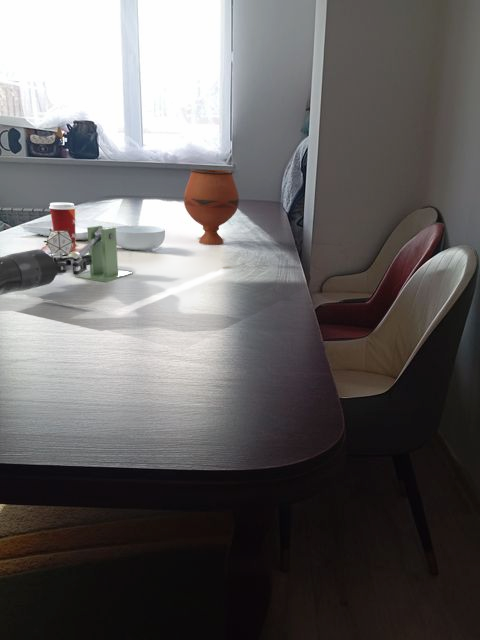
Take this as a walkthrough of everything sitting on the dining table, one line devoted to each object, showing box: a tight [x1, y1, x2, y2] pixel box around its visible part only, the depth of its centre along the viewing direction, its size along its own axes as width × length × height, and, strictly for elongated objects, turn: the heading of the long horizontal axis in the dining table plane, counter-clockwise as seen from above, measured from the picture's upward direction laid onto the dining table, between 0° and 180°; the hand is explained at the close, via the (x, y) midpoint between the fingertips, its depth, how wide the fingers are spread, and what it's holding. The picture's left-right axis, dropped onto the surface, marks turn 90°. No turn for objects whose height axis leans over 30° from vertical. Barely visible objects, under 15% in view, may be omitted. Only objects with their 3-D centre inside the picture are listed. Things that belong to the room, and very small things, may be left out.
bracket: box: [74, 225, 133, 283], centre depth 126 cm, size 11×9×13 cm
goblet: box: [183, 168, 240, 246], centre depth 182 cm, size 19×19×25 cm
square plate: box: [19, 218, 131, 241], centre depth 186 cm, size 27×27×4 cm
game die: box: [43, 228, 77, 254], centre depth 149 cm, size 9×8×10 cm
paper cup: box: [48, 201, 77, 252], centre depth 158 cm, size 8×8×14 cm
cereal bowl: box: [115, 225, 166, 253], centre depth 164 cm, size 17×17×7 cm
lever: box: [67, 227, 104, 262], centre depth 121 cm, size 14×4×4 cm, turn 158°
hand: (83, 258), depth 120 cm, fingers closed on lever, 3 cm apart
